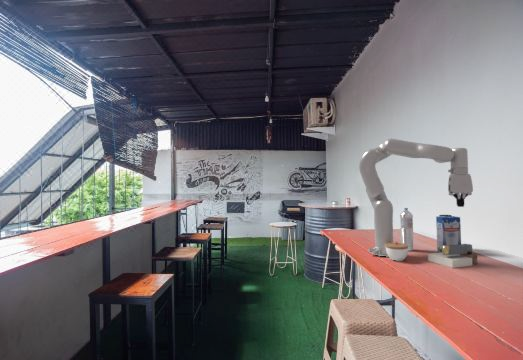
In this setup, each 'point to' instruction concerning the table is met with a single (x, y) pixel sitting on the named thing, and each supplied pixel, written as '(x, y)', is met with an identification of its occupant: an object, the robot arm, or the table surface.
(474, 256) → the jamb block
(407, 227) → the water bottle
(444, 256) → the door panel
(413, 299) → the table surface
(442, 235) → the milk carton
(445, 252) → the latch bar
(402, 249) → the lidded jar
